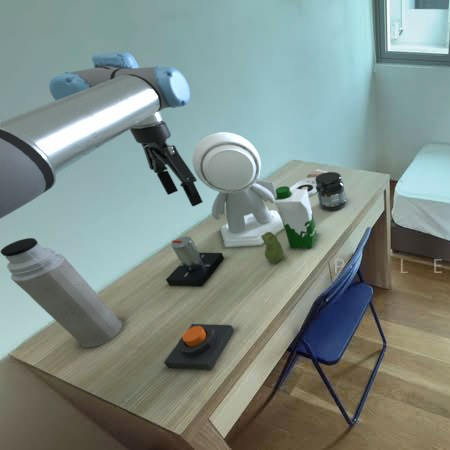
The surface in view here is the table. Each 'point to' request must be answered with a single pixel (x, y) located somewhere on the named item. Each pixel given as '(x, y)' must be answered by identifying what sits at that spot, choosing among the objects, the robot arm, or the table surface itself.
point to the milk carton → (296, 216)
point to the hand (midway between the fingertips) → (184, 198)
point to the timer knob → (187, 253)
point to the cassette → (267, 186)
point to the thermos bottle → (61, 292)
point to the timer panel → (196, 271)
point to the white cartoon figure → (236, 188)
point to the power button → (194, 336)
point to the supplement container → (330, 191)
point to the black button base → (201, 349)
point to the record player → (308, 182)
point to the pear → (272, 247)
